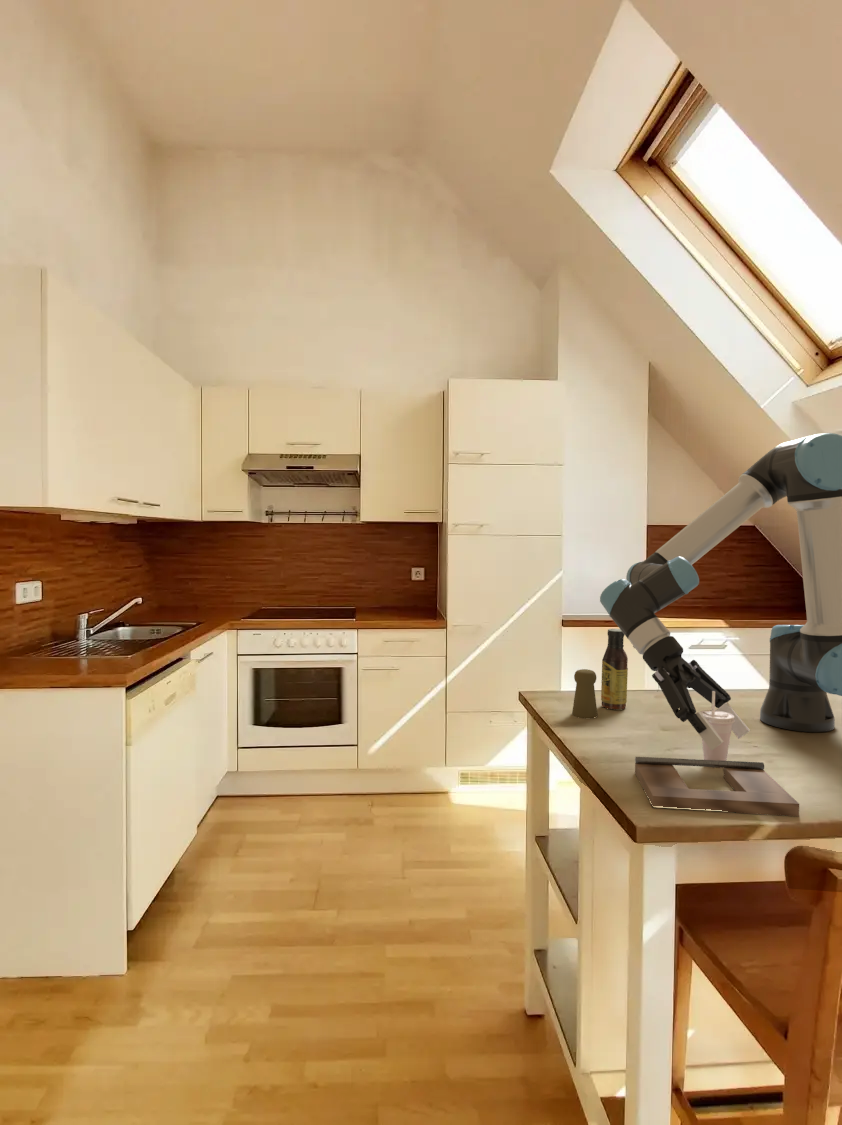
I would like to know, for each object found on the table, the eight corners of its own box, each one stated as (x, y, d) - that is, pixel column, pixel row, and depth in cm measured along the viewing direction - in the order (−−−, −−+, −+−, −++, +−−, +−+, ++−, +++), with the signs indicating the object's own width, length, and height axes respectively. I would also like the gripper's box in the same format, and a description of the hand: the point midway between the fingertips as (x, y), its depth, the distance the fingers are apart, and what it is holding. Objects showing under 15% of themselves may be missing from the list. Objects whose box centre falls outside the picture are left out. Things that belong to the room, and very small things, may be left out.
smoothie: (701, 756, 134) (703, 686, 133) (736, 763, 130) (738, 690, 129) (693, 765, 129) (694, 692, 128) (729, 772, 125) (731, 697, 124)
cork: (598, 719, 160) (599, 673, 160) (572, 717, 161) (572, 671, 161) (596, 712, 166) (597, 668, 166) (571, 711, 167) (572, 666, 167)
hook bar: (761, 768, 122) (761, 761, 122) (764, 770, 120) (764, 763, 120) (635, 762, 125) (635, 755, 124) (636, 764, 123) (636, 757, 123)
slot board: (761, 779, 122) (761, 768, 121) (798, 816, 106) (799, 803, 106) (634, 773, 125) (635, 762, 124) (652, 808, 109) (652, 795, 109)
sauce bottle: (598, 704, 174) (599, 627, 173) (622, 704, 174) (624, 627, 173) (604, 711, 167) (605, 631, 167) (630, 711, 167) (631, 631, 166)
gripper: (673, 650, 147) (744, 739, 136) (612, 663, 133) (686, 763, 122) (697, 629, 143) (772, 718, 132) (637, 639, 129) (716, 741, 117)
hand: (731, 740), depth 127 cm, fingers open, 10 cm apart
